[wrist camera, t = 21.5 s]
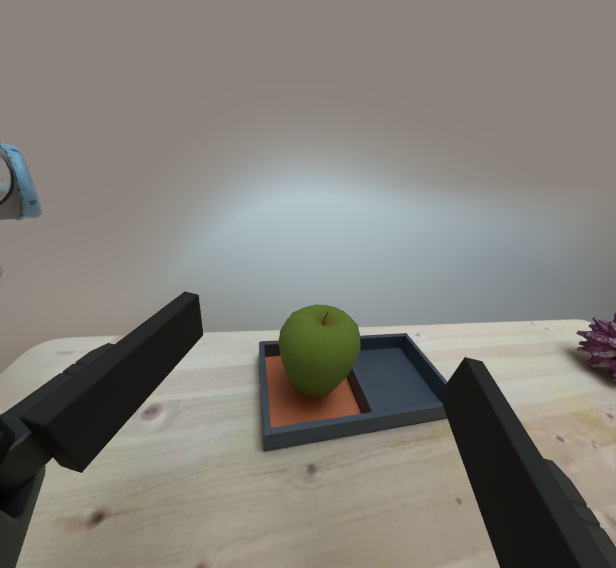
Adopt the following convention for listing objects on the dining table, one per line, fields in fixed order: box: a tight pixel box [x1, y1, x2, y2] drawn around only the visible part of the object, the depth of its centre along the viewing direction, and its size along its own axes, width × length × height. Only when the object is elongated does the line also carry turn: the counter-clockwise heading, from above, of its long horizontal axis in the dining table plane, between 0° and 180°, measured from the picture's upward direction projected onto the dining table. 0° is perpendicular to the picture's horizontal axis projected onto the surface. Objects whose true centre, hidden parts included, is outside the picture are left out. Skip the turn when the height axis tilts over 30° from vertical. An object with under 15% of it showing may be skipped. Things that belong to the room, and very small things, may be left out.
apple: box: [279, 305, 361, 398], centre depth 25 cm, size 9×8×12 cm
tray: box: [259, 333, 447, 451], centre depth 29 cm, size 23×12×3 cm, turn 103°
